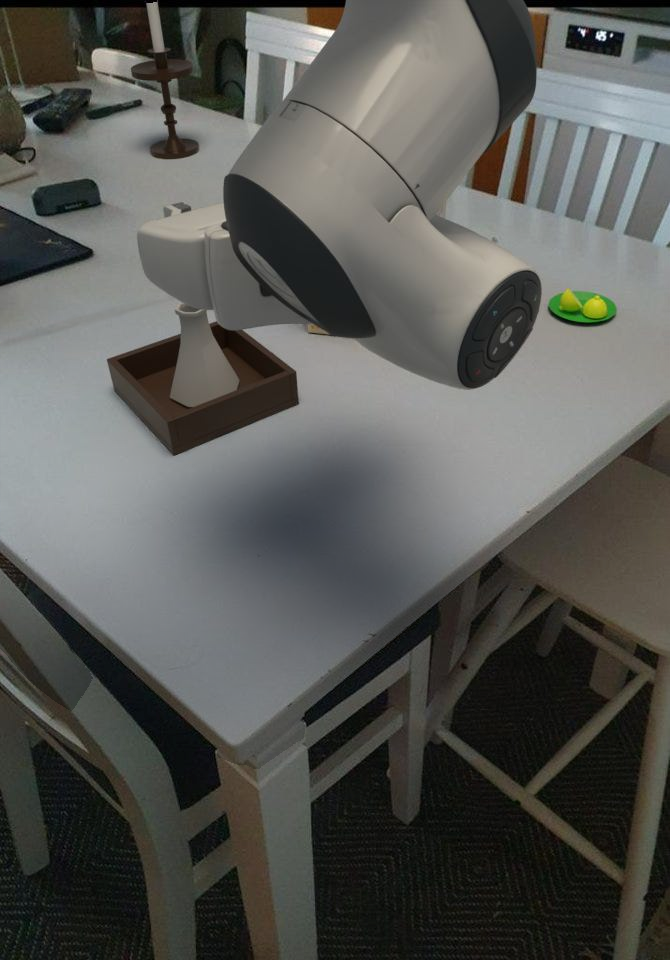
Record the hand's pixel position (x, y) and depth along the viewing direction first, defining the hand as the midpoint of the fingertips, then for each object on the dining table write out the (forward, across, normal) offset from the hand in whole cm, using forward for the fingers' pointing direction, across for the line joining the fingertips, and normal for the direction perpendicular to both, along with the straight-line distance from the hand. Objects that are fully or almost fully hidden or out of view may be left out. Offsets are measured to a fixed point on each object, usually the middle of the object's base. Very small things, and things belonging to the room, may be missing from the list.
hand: (227, 200), depth 63 cm
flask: (+13, -2, +24) cm, 27 cm away
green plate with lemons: (0, -47, +24) cm, 53 cm away
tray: (+13, -1, +24) cm, 28 cm away
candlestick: (+90, -38, +21) cm, 100 cm away
